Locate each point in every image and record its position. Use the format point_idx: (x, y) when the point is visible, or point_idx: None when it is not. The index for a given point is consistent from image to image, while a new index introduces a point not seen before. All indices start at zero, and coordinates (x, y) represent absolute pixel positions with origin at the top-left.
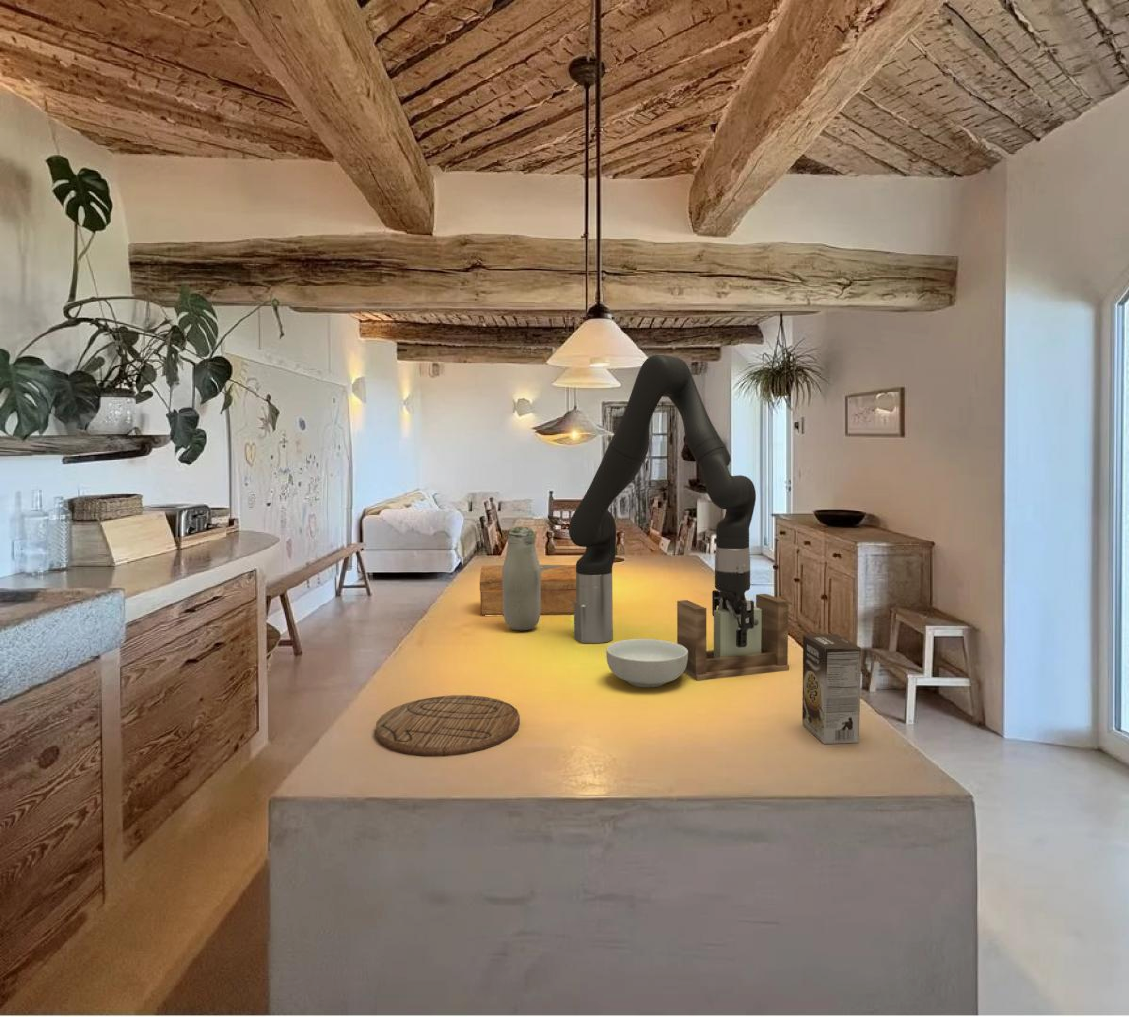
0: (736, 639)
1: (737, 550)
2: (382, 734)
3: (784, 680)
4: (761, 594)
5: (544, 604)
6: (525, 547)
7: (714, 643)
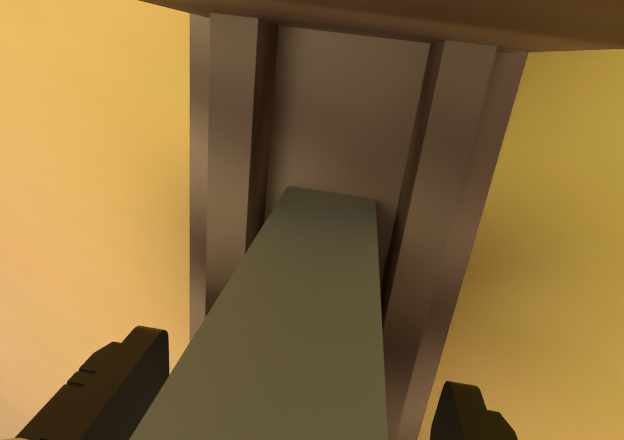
0: (129, 365)
1: None
2: None
3: (79, 348)
4: None
5: None
6: None
7: (362, 258)
